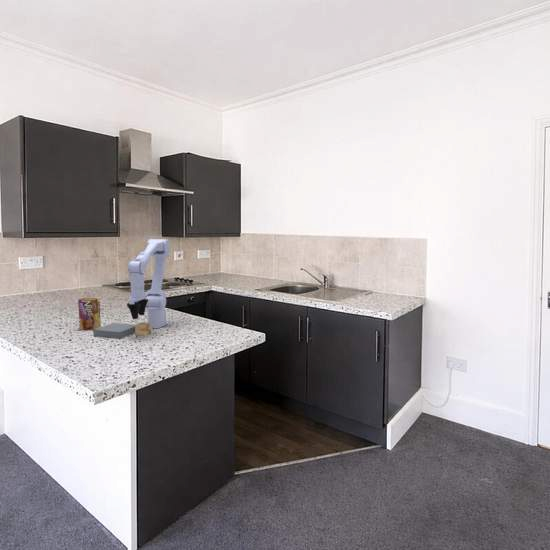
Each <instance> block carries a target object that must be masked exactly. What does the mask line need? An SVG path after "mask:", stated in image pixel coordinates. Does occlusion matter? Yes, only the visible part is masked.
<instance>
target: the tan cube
mask: <svg viewBox="0 0 550 550" xmlns="http://www.w3.org/2000/svg"><path fill="white" fill-rule="evenodd" d="M134 325H135V333H134V334H135V336H140V335H142V336H141V337H146V336H148V335H150V333H151V334H152V328H151V323H148V322H144V321H143V322H138V323H135V324H134Z"/></svg>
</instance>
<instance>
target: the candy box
mask: <svg viewBox="0 0 550 550" xmlns="http://www.w3.org/2000/svg"><path fill="white" fill-rule="evenodd" d="M100 298H101V297H100V296H98V297H97V296H95V297H94V296H93V297H91V296H90V297H88V296H87V297H84V296H83V297H79V298H77V302H78V304H77V305H78V306H77V307H78V321H79V323H78V324H79V330H80V331H82V330H83V331H84V330H85V331H88V330H94V329H97V328H100V327H102V325H101V324H102V323H101V299H100Z"/></svg>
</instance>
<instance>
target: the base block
mask: <svg viewBox="0 0 550 550" xmlns="http://www.w3.org/2000/svg"><path fill="white" fill-rule="evenodd" d="M92 330H93V334H92V335H93V337H99V338H107V339H108V338H109V339H120V340H121V339H123V338H126V337H128V336H130V335H134V334H135V324H133V323H132V324H130V323H122V322H121V323H120V322H113V323H110V324H106V325H103V326H101V327H100V328H97V329H92Z"/></svg>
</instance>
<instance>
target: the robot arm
mask: <svg viewBox="0 0 550 550" xmlns="http://www.w3.org/2000/svg"><path fill="white" fill-rule="evenodd" d="M170 243H171V242H170V241H169V240H168V239H167V238H165V239H163V238H162V239H161V238H160V239H157V238H153V239H152V238H149V239H147V243H146V246H147V247H146V248H145V250H144V251H141V252H140V253H139V254H138V255H137V257H135V259H133V260H131V261H129V262H128V264H127V272H128V277H129V278H130V296H129V297H128V303H126V306H127V308H128V309H129V311H130V315H131V318H132V319H133V320H138V319H139V316H145V312H146V310H147V323H151V329H160V328H162V327H164V326H167V325H168V324H169V323H167V311H166V308H165V307H166V305H167V294H166V292H164V290H162V287H163V280H164V273H165V267H166V261H167V258H168V257H169V256H170V255H169V254H170V249H171V244H170ZM152 257H153V258H154V259H155V260H154V268H153V274H152V279H151V280H152V281H151V286H150V289H149V290H147V291H145V273H147V272H146V271H147V268H148V265H149V263H150V262H151V260H152ZM166 324H167V325H166Z"/></svg>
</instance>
